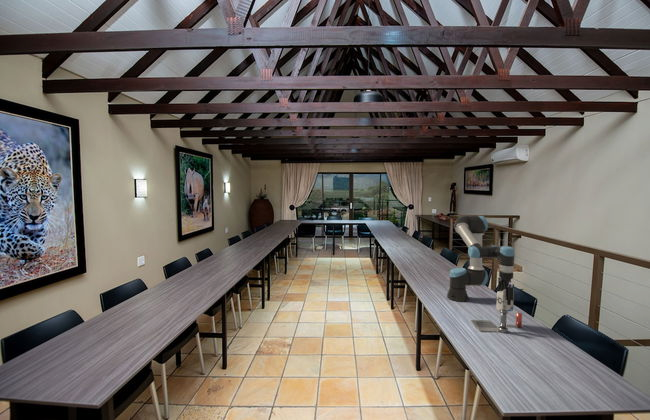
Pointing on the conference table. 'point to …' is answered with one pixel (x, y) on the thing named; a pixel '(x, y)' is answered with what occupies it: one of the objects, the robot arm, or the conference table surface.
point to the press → (492, 324)
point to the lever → (517, 321)
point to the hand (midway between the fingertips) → (504, 306)
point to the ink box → (503, 300)
